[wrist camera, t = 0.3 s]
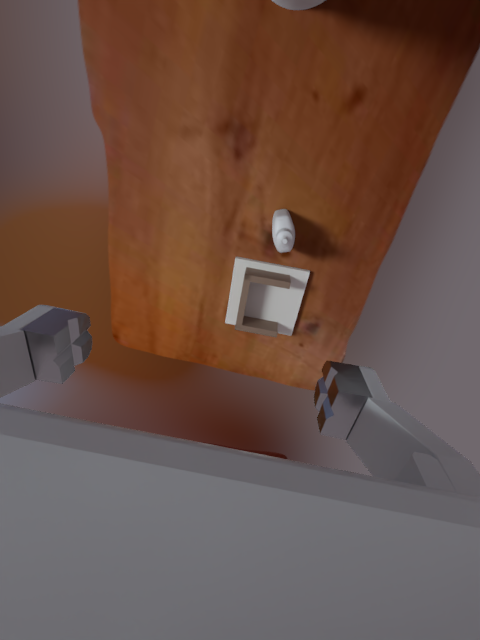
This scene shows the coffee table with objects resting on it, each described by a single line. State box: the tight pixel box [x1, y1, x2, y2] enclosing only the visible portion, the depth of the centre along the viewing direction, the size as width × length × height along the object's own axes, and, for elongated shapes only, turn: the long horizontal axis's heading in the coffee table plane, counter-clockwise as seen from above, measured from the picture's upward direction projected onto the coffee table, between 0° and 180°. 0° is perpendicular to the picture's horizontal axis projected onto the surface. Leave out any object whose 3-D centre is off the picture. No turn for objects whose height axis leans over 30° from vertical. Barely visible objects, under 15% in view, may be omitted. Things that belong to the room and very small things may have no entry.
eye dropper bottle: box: [272, 209, 295, 252], centre depth 45 cm, size 4×6×12 cm
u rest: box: [225, 257, 310, 337], centre depth 55 cm, size 14×14×5 cm
